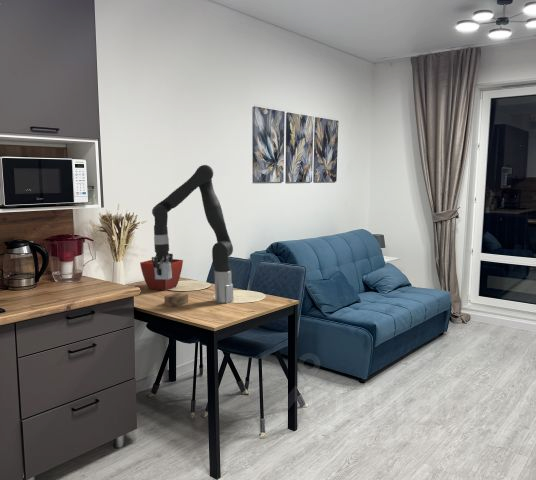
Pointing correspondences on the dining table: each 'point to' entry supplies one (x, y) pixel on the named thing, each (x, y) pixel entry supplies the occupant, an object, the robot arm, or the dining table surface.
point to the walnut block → (176, 299)
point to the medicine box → (164, 271)
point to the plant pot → (161, 283)
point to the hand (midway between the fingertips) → (163, 274)
